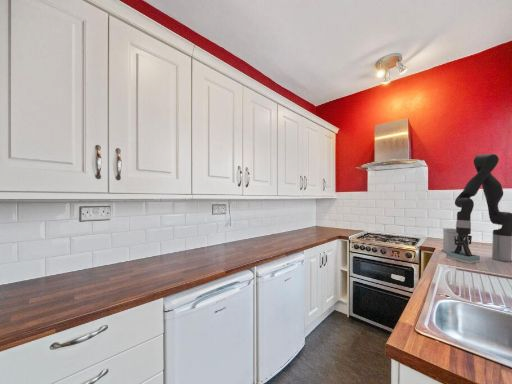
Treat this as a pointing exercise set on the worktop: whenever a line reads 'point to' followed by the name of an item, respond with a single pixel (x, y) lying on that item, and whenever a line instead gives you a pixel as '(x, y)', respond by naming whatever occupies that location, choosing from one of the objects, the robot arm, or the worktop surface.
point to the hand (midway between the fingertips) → (462, 250)
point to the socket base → (463, 257)
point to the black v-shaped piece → (466, 249)
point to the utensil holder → (449, 239)
